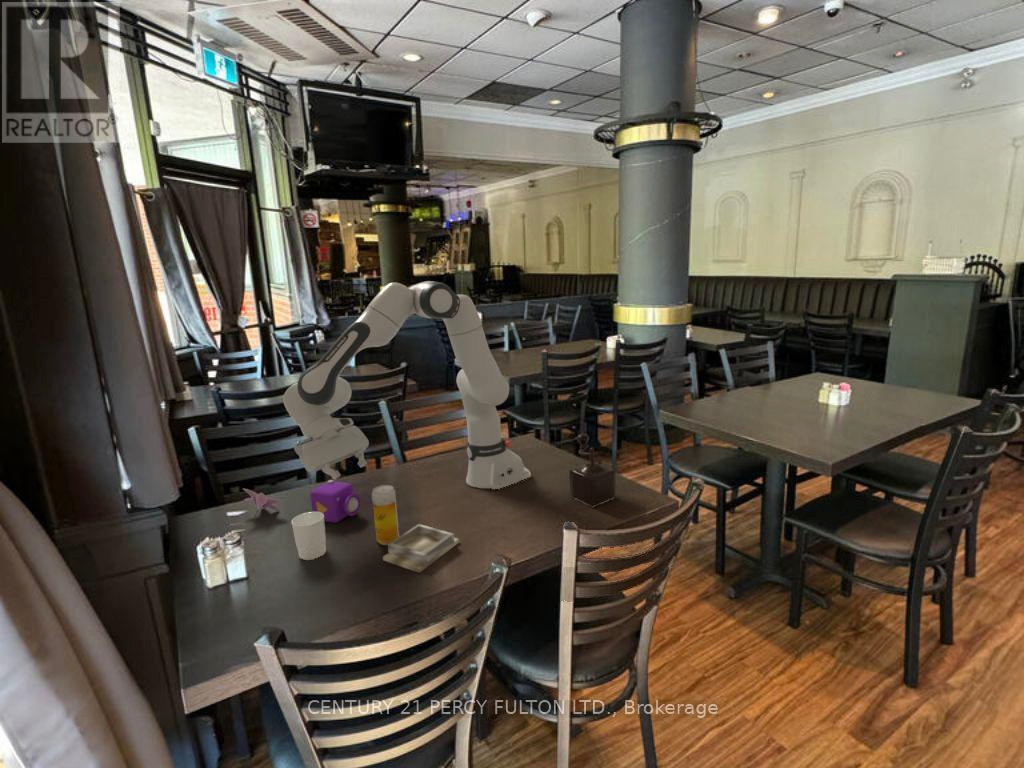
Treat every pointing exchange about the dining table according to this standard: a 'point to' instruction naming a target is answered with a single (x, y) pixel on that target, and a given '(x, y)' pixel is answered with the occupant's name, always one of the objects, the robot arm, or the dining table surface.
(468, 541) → the dining table surface
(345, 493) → the toy camera
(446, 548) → the socket board
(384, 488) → the glass of beer
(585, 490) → the pepper mill
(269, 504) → the lily
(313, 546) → the white cup
